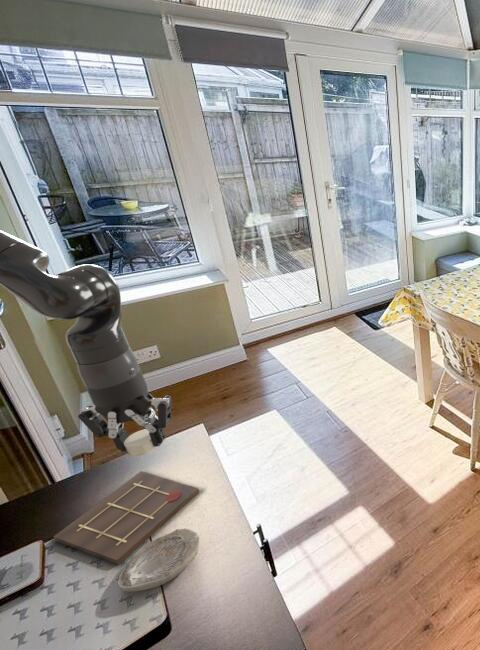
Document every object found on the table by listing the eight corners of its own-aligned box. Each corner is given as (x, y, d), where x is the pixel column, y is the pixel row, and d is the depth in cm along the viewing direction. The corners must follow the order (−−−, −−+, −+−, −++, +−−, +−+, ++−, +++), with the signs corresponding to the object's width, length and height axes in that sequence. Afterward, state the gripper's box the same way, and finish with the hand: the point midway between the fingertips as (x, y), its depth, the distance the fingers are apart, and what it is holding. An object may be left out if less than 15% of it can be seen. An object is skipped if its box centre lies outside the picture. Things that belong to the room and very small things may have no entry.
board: (55, 541, 78) (52, 536, 78) (142, 474, 93) (141, 470, 92) (119, 564, 75) (116, 559, 74) (199, 492, 89) (198, 487, 89)
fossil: (129, 561, 76) (123, 551, 75) (204, 529, 82) (200, 519, 81) (117, 613, 68) (110, 602, 67) (201, 573, 73) (196, 562, 72)
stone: (121, 453, 79) (117, 444, 78) (147, 435, 84) (143, 426, 83) (140, 458, 78) (136, 449, 77) (165, 440, 82) (161, 431, 82)
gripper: (168, 357, 79) (193, 426, 86) (77, 367, 75) (110, 438, 82) (149, 381, 72) (177, 453, 79) (47, 393, 69) (86, 468, 76)
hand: (143, 445), depth 81 cm, fingers closed on stone, 4 cm apart
